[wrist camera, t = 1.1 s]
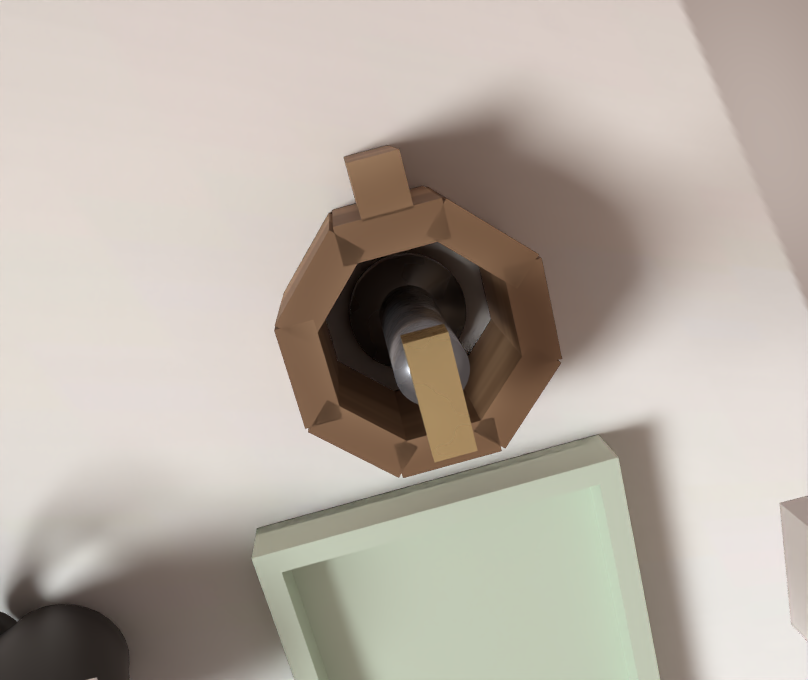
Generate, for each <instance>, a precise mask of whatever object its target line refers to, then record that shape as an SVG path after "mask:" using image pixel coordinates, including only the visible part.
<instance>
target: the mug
mask: <svg viewBox="0 0 808 680" xmlns="http://www.w3.org/2000/svg"><path fill="white" fill-rule="evenodd" d="M96 677H97V679H98V680H129V650H128V647H127V644H126V640H125V638H124V637H123V635H122V634H121V632H120V630H119V629H118V628H117V627H116V626H115V625H114V624H113V623H112V622H111V621H110V620H109V619H108V618H106V617H105V616H103V615H102V614H100V613H98V612H96V611H94V610H91V609H89V608H86V607H82V606H77V605H70V604H59V605H52V606H47V607H42V608H40V609H37V610H35V611H33V612H30V613H29V614H27V615H26V616H24V617H23V618H21V619H20V620H19V621H18V622H17V621H16V620H15V619H13V618H12V617H10V616H9V615H7V614H5V613H3V612H0V680H88V679H92V678H96Z"/></svg>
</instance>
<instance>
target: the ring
mask: <svg viewBox="0 0 808 680" xmlns="http://www.w3.org/2000/svg"><path fill="white" fill-rule="evenodd" d="M344 160H345V164H346V168H347V172H348V175H349V179H350V183H351V186H352V190H353V194H354V198H355V201H356V204H353V205H349V206H345V207H342V208H338V209H334V210H332V214H331V213H328V215H327V217H326V219H325V221H324V222H323V224H322V226H321V228H320V229H319V231H318V233H317V235H316V237H315V238H314V240H313V242H312V244H311V245H310V247H309V249H308V251H307V252H306V254H305V256H304V258H303V260H302V261H301V263H300V265H299V267H298V268H297V270H296V272H295V274H294V276H293V277H292V279H291V281H290V283H289V284H288V286H287V288H286V290H285V292H284V294H283V298H282V301H281V305H280V309H279V312H278V316H277V319H276V323H275V330H274V331H275V334H276V337H277V340H278V344H279V347H280V350H281V353H282V356H283V359H284V363H285V366H286V369H287V372H288V375H289V378H290V382H291V385H292V388H293V391H294V394H295V398H296V401H297V404H298V407H299V410H300V413H301V417H302V420H303V423H304V426H305V429H306V428H308V432H309V433H311V434H313V435H315V436H317V437H319V438H321V439H323V440H325V441H327V442H329V443H331V444H333V445H335V446H337V447H339V448H341V449H343V450H345V451H347V452H349V453H351V454H353V455H355V456H357V457H359V458H361V459H363V460H365V461H367V462H369V463H371V464H373V465H375V466H376V467H378V468H380V469H382V470H384V471H386V472H388V473H390V474H392V475H394V476H396V477H398V478H399V476H400V475H401V473H402V476H403V478H405V477H409V476H412V475H416V474H420V473H423V472H427V471H431V470H434V469H438V468H442V467H445V466H449V465H452V464H456V463H460V462H463V461H467V460H471V459H474V458H478V457H482V456H485V455H489V454H492V453H496V452H500V451H502V450H501V446H502V447H504V448H506V447H507V445H508V444H509V442H510V440H511V439H512V437H513V436H514V434H515V433H516V431H517V430H518V428H519V427H520V425H521V424H522V422H523V421H524V419H525V418H526V416H527V414H528V413H529V411H530V410H531V408H532V407H533V405H534V404H535V402H536V401H537V399H538V398H539V396H540V395H541V393H542V392H543V390H544V389H545V387H546V385H547V384H548V382H549V381H550V379H551V378H552V376H553V375H554V373H555V372H556V370H557V369H558V367H559V366H560V364H561V362H560V361H559V359H562V356H561V351H560V346H559V341H558V336H557V331H556V326H555V321H554V317H553V312H552V307H551V302H550V297H549V292H548V287H547V282H546V277H545V272H544V267H543V262H542V258H541V257H539V256H538V255H539V254H538V253H536V252H534V251H533V250H531V249H529V248H528V247H526V246H524V245H523V244H521V243H520V242H518V241H516V240H515V239H513V238H511V237H510V236H508V235H506V234H505V233H503V232H501V231H500V230H498V229H496V228H495V227H493V226H492V225H490V224H488V223H487V222H485V221H483V220H482V219H480V218H478V217H477V216H475V215H473V214H472V213H470V212H468V211H467V210H465V209H463V208H462V207H460V206H458V205H457V204H455V203H454V202H452V201H450V200H449V199H447V198H445V197H444V196H442V195H440V194H439V193H437V192H435V191H434V190H432V189H430V188H429V187H424V186H420V187H417V188H413V189H409V186H408V182H407V178H406V174H405V170H404V166H403V162H402V158H401V154H400V150H399V149H397V148H394V147H391V146H388V145H387V146H383V147H379V148H375V149H372V150H368V151H364V152H360V153H356V154H353V155H349V156H345V157H344ZM435 242H439V243H441V244H442V245H444V246H446V247H447V248H449V249H451V250H452V251H454V252H456V253H458V254H459V255H461V256H463V257H464V258H466V259H468V260H469V261H471V262H473V263H474V264H476V265H478V266H479V268H480V273H481V277H482V281H483V286H484V290H485V295H486V299H487V303H488V308H489V312H490V316H491V321H490V322H489V324H488V325H487V327H486V329H485V330H484V332H483V333H482V335H481V337H480V338H479V340H478V341H477V343H476V345H475V346H474V348H473V349H472V351H471V352H470V354H469V356H468V359H469V363H470V375H469V379H468V382H467V384H466V386H465V388H464V389H463V393H464V397H465V401H466V405H467V409H468V414H469V418H470V422H471V426H472V430H473V434H474V438H475V442H476V446H477V450H478V451H475V452H471V453H467V454H464V455H460V456H457V457H453V458H449V459H446V460H442V461H438V462H434V459H433V456H432V453H431V450H430V446H429V442H428V438H427V434H426V431H425V427H424V423H423V419H422V416H421V412H420V408H419V404H416V403H414V402H412V401H410V400H409V399H408V398H406V397H405V396H404V395H403V393H402V392H401V391H400V390H397V391H393V390H391V389H389V388H388V387H386V386H384V385H382V384H380V383H378V382H376V381H374V380H372V379H371V378H369V377H367V376H365V375H363V374H361V373H359V372H357V371H356V370H354V369H352V368H350V367H348V366H346V365H344V364H342V363H341V362H339V361H338V360H337V357H336V353H335V350H334V346H333V343H332V340H331V336H330V333H329V329H328V326H327V323H326V317H327V316H328V314H329V312H330V310H331V309H332V307H333V305H334V303H335V302H336V300H337V298H338V297H339V295H340V293H341V291H342V290H343V288H344V286H345V284H346V283H347V281H348V279H349V278H350V276H351V274H352V272H353V271H354V269H355V267H356V265H357V264H358V263H360V262H364V261H368V260H372V259H375V258H379V257H383V256H387V255H390V254H394V253H398V252H401V251H405V250H409V249H413V248H416V247H420V246H424V245H427V244H431V243H435Z"/></svg>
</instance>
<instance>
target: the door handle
mask: <svg viewBox="0 0 808 680" xmlns="http://www.w3.org/2000/svg"><path fill="white" fill-rule="evenodd" d="M465 318H466V304H465V298H464V295H463V292H462V290H461V288H460V285H459V284H458V282H457V281H456V279H455V278H454V276H453V275H452V274H451V273H450V272H449V271H448V269H446V268H445V267H444V266H443V265H442V264H441V263H439V262H438V261H436V260H434V259H432V258H430V257H428V256H425V255H421V254H416V253H399V254H394V255H390V256H387V257H385V258H383V259H381V260H379V261H377V262H376V263H374V264H373V265H371V266H370V267H369V268H368V269H367V270H366V271H365V272H364V273H363V274H362V275H361V277H360V278H359V280H358V281H357V283H356V285H355V287H354V290H353V292H352V295H351V301H350V320H351V325H352V330H353V332H354V335H355V337H356V339H357V341H358V343H359V344H360V346H361V347H362V349H363V350H364V351H365V352H366V353H367V354H368V355H369V356H371V357H372V358H373V359H375V360H376V361H378V362H380V363H382V364H384V365H386V366H390V367H392V368H393V372H394V376H395V379H396V383H397V385H398V387H399V389H400V391H401V392H402V393H403V395H404V396H405V397H406V398H408V399H409V400H410V401H412V402H414V403H416V404H419V408H420V412H421V416H422V419H423V423H424V427H425V431H426V434H427V438H428V442H429V446H430V450H431V453H432V456H433V459H434V462H438V461H442V460H446V459H449V458H453V457H457V456H460V455H464V454H467V453H471V452H475V451H478V450H477V446H476V442H475V438H474V434H473V430H472V426H471V422H470V418H469V414H468V409H467V405H466V401H465V397H464V393H463V389H464V388H465V386H466V384H467V382H468V379H469V375H470V363H469V359H468V356H467V354H466V352H465V350H464V348H463V347H462V345H461V344H460V342H459V340H458V339H459V337H460V335H461V333H462V330H463V328H464V324H465Z"/></svg>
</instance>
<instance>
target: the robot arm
mask: <svg viewBox="0 0 808 680" xmlns="http://www.w3.org/2000/svg"><path fill="white" fill-rule="evenodd" d="M780 513H781V523H782V534H783V545H784V555H785V566H786V576H787V587H788V598H789V608H790V619H791V625H792V626H793V627H794V628H795V629H796V630H797V631H798V632H799V633H800V634H801V635H802V636H803V638H804V639H805V640H806V641H807V642H808V496H805V497H801V498H797V499H793V500H789V501H785V502H781V503H780ZM88 680H98V679H97V677H96V678H92V679H88Z"/></svg>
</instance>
